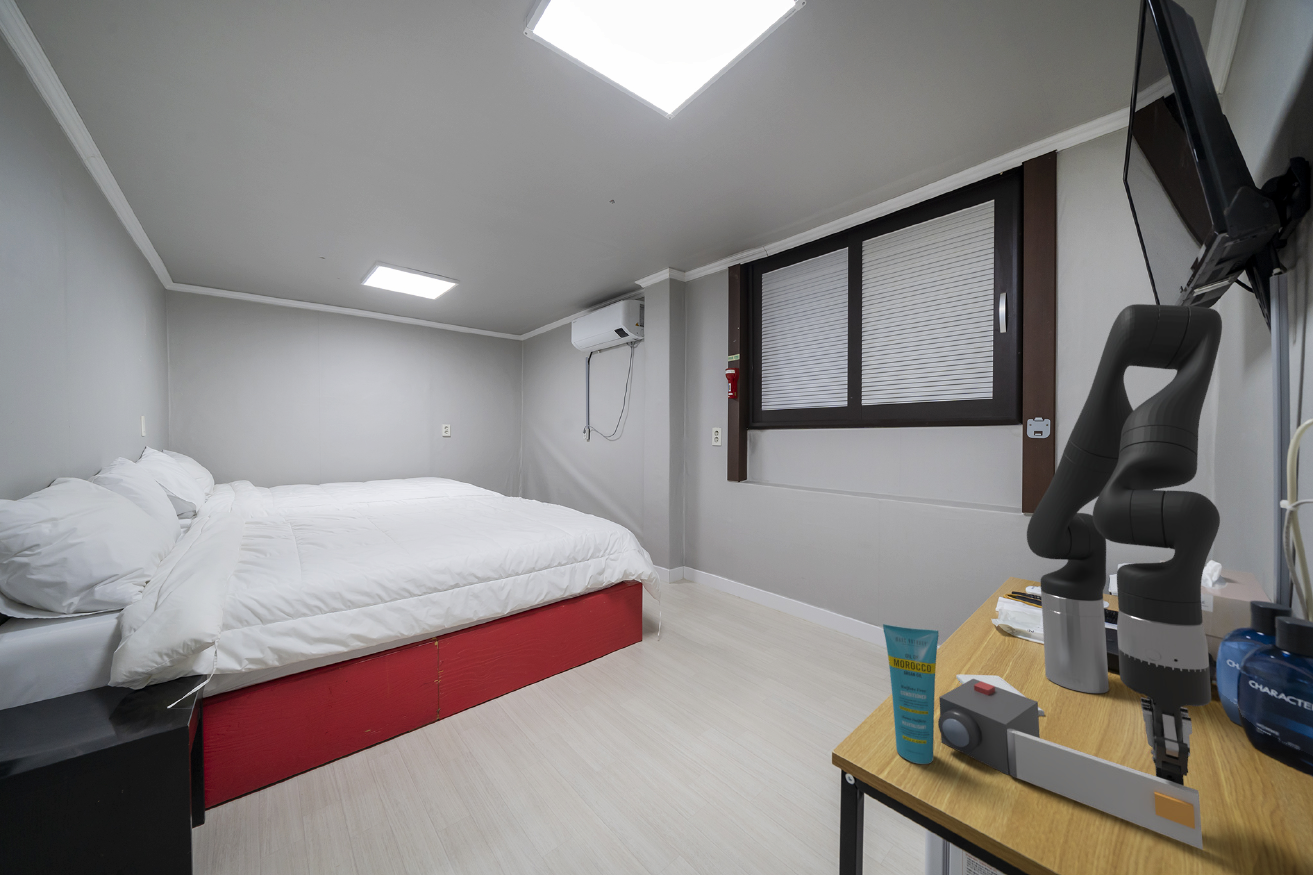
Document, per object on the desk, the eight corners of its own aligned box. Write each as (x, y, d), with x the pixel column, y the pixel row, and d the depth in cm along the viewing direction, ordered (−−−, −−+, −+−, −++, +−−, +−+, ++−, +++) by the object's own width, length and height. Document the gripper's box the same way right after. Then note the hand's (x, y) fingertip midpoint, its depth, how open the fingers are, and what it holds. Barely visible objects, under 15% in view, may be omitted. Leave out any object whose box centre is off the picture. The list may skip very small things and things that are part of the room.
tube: (889, 758, 69) (884, 629, 70) (886, 740, 73) (881, 618, 74) (947, 770, 66) (940, 635, 67) (940, 750, 71) (934, 623, 72)
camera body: (975, 720, 78) (973, 673, 79) (1040, 748, 71) (1037, 696, 71) (933, 747, 71) (931, 696, 72) (1000, 781, 64) (997, 723, 64)
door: (1201, 843, 53) (1198, 789, 53) (1203, 852, 51) (1199, 797, 52) (1010, 770, 65) (1007, 727, 65) (1007, 776, 64) (1005, 732, 64)
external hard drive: (1000, 683, 92) (1045, 719, 79) (956, 682, 93) (993, 717, 80) (999, 675, 92) (1044, 709, 79) (955, 674, 93) (993, 707, 80)
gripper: (1220, 683, 49) (1231, 849, 48) (1199, 643, 59) (1208, 782, 58) (1120, 662, 54) (1129, 812, 54) (1116, 629, 64) (1123, 756, 63)
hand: (1170, 796), depth 56 cm, fingers closed
